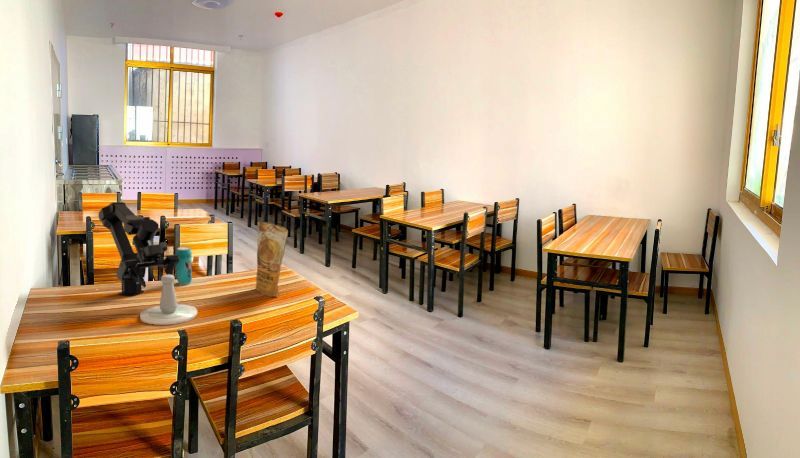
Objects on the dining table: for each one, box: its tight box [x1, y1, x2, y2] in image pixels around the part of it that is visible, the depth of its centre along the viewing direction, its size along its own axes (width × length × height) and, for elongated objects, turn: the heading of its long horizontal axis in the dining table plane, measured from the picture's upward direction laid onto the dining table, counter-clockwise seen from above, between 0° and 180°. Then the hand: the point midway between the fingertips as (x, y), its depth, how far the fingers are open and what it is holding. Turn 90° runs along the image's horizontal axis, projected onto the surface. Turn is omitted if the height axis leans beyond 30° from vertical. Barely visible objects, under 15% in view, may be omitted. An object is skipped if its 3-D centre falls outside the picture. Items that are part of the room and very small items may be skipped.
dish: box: [139, 304, 198, 326], centre depth 181 cm, size 18×18×1 cm
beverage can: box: [176, 246, 193, 286], centre depth 218 cm, size 6×6×15 cm
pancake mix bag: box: [255, 221, 289, 298], centre depth 211 cm, size 7×19×28 cm, turn 44°
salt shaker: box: [159, 274, 178, 314], centre depth 180 cm, size 6×6×13 cm
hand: (158, 284), depth 185 cm, fingers open, 9 cm apart
